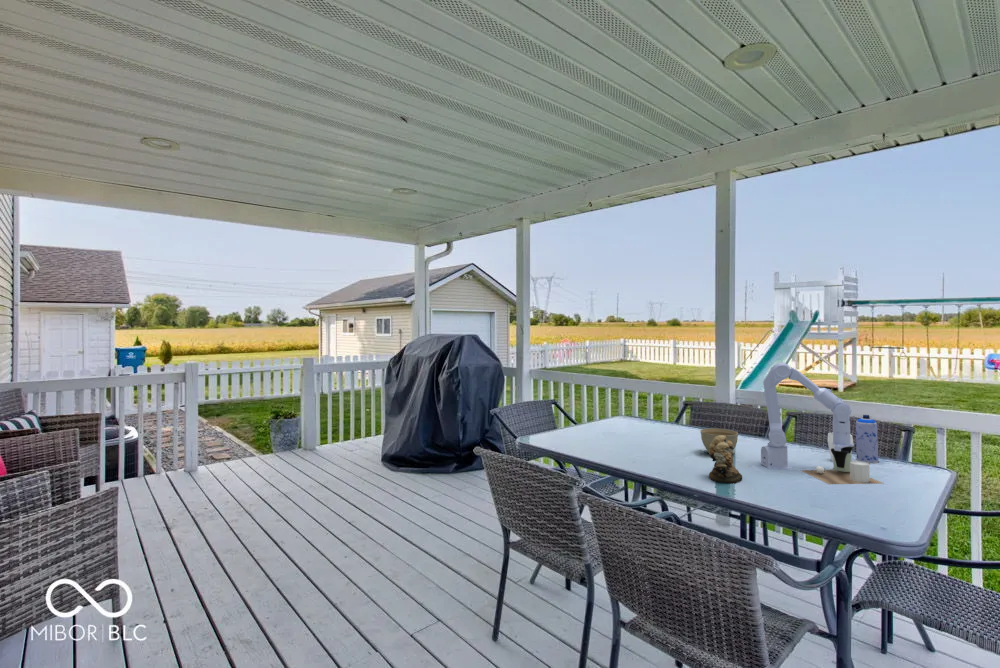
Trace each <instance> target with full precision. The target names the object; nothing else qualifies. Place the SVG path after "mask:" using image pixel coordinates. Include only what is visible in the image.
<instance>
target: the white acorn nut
mask: <svg viewBox="0 0 1000 668" xmlns="http://www.w3.org/2000/svg"><path fill="white" fill-rule="evenodd" d="M870 478H871V475H870V463H866V462H862V461H857V460H852V461H850V480H853V481H855V482H861V483H869V482H870Z"/></svg>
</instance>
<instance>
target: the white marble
mask: <svg viewBox="0 0 1000 668" xmlns="http://www.w3.org/2000/svg"><path fill="white" fill-rule="evenodd" d="M815 470H816V472H817V473H819V474H823V473H824V472H825V470H826V469H825V468H824V466H822V465H817V466H816V467H815Z"/></svg>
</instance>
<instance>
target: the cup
mask: <svg viewBox="0 0 1000 668" xmlns="http://www.w3.org/2000/svg"><path fill="white" fill-rule="evenodd" d="M850 441H851V444H854V439H853V435H852V434H851V433H850ZM832 442H833V431H832V432H828V433H827V445H828V450H829V454H830V460H831V461H832V462H834V461H833V454H832V452H831V449H832V448H833V449H834V445H833V443H832ZM851 447H853V448H854V446H851ZM852 453H853V450H852V451H851V455H852Z"/></svg>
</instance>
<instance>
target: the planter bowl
mask: <svg viewBox="0 0 1000 668" xmlns="http://www.w3.org/2000/svg"><path fill="white" fill-rule="evenodd" d="M699 432H700V438H701V441H702V444H703V446H704V448H705V449H706V451H707V454H708V453H709V454H708V455H710V449H709V446H710V444H711V443H712V440H713V439H714V438H715V437H716V436H719V435H724V436H726V438H727V441H731V442H732V443H733V447H734V449H735V448H736V446H737V444H738V437H739V432H738V431H736V430H732V429H728V428H727V429H726V428H713V427H711V428H703V429H700V430H699Z"/></svg>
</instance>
